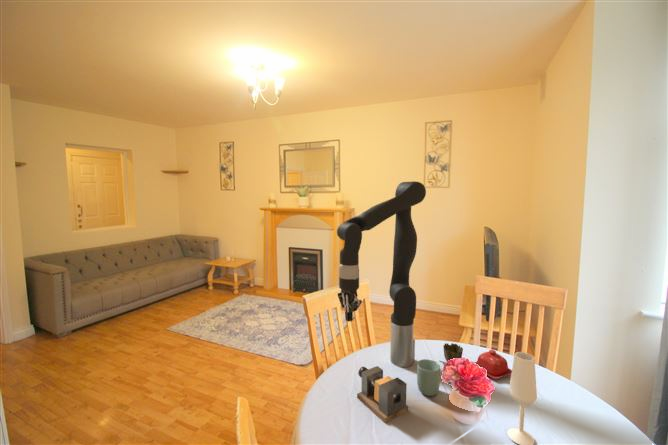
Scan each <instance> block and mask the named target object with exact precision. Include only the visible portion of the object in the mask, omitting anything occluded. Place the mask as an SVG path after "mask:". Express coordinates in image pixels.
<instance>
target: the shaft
mask: <svg viewBox="0 0 668 445" xmlns="http://www.w3.org/2000/svg"><path fill="white" fill-rule="evenodd" d="M368 369H369V368H367V367H366V366H361V367H359V370H358V376H359V377H360V378H361V379H362V372H363V371H366V370H368ZM376 380H379V379H377V378H376V377H374V378H372V384H373V385H374V386H375V381H376ZM397 397H398V394H396V395H394V400H393V401H395V400H396V399H397Z"/></svg>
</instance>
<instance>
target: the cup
mask: <svg viewBox="0 0 668 445" xmlns="http://www.w3.org/2000/svg"><path fill="white" fill-rule="evenodd" d="M416 381H417V386H418V390H419V392H421V394H423V395H424V396H426V397H427V396H428V397H432V396H436V395H437V394H438V393H439V390H440V386H441V365H440V363H439V362H437V361H435V360H433V359H427V358H425V359H420V360H418V362H417V367H416Z"/></svg>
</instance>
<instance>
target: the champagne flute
mask: <svg viewBox="0 0 668 445" xmlns="http://www.w3.org/2000/svg"><path fill="white" fill-rule="evenodd" d="M535 360H536V358H535V357H534V356H533V355H532V354H530V353H528V352H524V351H517V352H514V356H513V363H512V369H511V370H512V374H510V379H509V380H510V381H509V386H508V387H509V388H508V392H509V393H510V394H509V395H510V396H511V397H512V399H513V400H514V401H515V402H516V403H517V404H518V405H519V414H518V428H517V427H512V428H509V429H508V430H507V432H506V433H507V436H508V438H509V439H510V440H511V441H513V442H514V443H516V444H518V445H534V444H535V439H534V437H533V436H532V435H531V434H530V433H528V432H527V431H525V430H524V425H525V424H524V423H525V407H527V406H531V405H533V404H534V403H535V402H536V401H537V399H538V393H537V391H538V390H537V380H536V379H537V378H536V361H535Z"/></svg>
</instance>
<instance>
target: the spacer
mask: <svg viewBox="0 0 668 445" xmlns="http://www.w3.org/2000/svg"><path fill="white" fill-rule="evenodd" d="M393 379H394V378H392V377H390V376H389V375H387V376H385V377H383V378H382V379H379V380H376V381H375V390H374V399H375V400H376V401H377V402H378V403H379V385H381V384H383V383H386V382H388V381H390V380H393Z"/></svg>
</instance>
